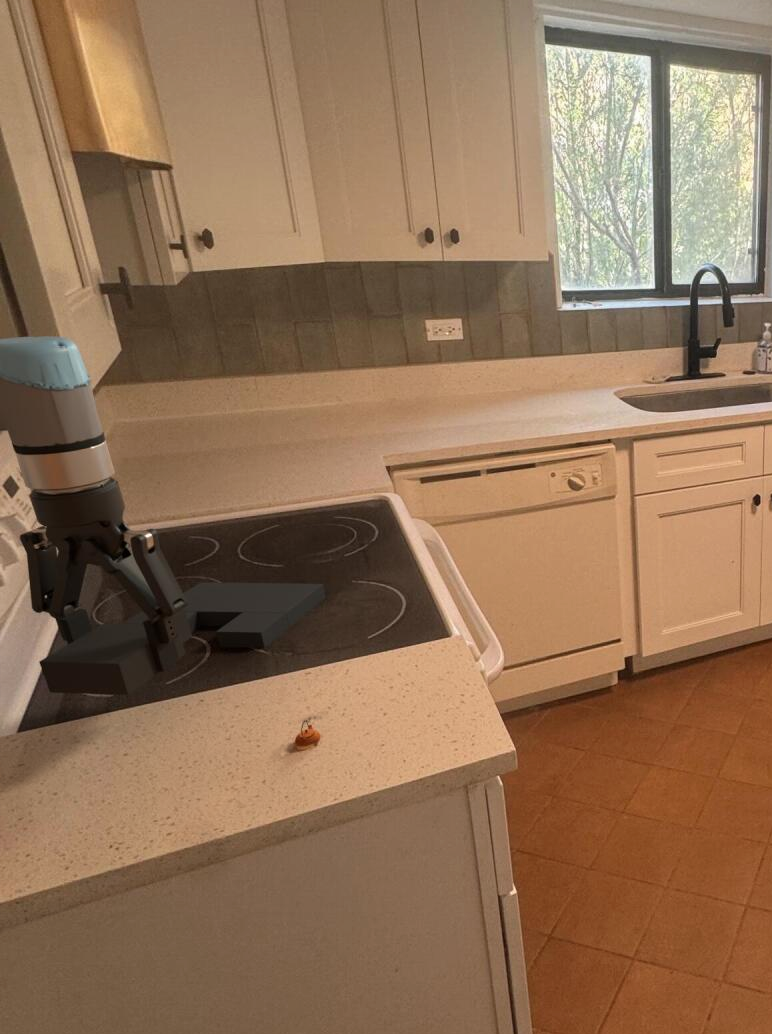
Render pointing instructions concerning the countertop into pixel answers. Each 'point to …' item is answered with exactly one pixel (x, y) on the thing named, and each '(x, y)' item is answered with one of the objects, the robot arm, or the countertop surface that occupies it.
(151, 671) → the pad
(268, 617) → the notch pad
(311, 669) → the countertop surface
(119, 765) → the countertop surface
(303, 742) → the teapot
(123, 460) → the countertop surface
